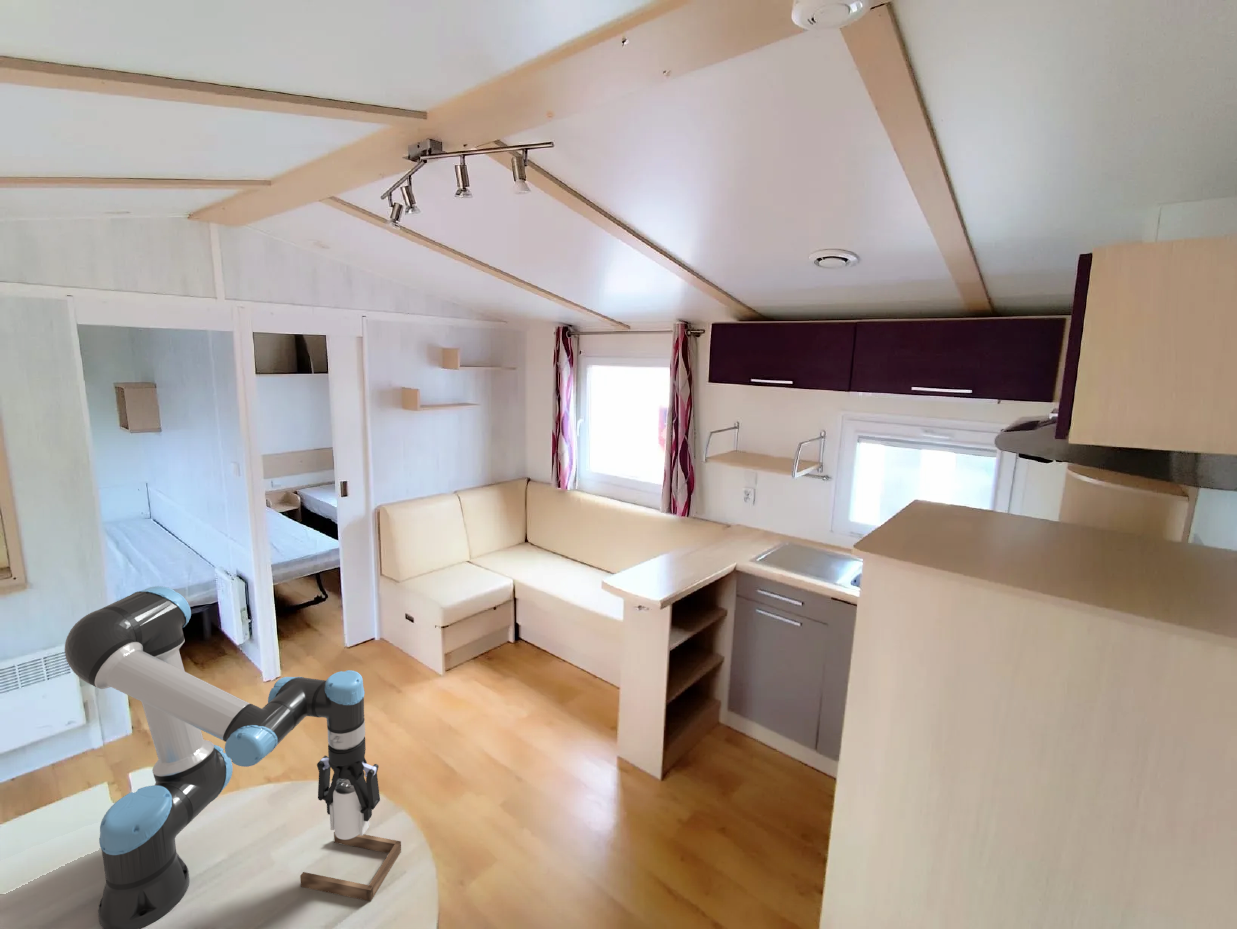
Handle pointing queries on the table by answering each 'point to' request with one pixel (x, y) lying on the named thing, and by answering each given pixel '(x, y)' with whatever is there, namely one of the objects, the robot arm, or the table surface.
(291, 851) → the table surface
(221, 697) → the robot arm
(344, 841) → the open wooden frame
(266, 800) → the table surface
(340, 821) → the can
